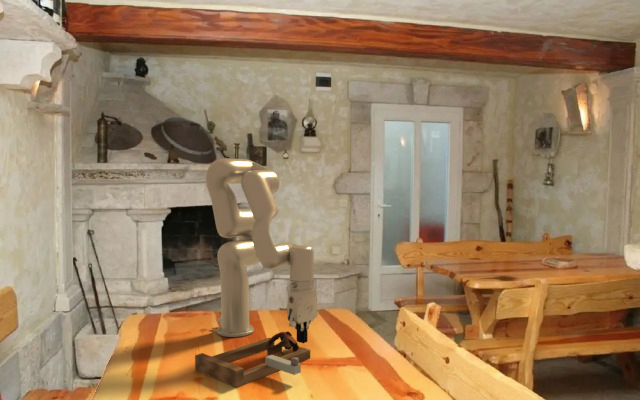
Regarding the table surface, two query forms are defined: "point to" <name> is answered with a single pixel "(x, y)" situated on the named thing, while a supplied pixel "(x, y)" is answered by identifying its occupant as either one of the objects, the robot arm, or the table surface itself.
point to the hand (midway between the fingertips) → (302, 341)
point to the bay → (234, 374)
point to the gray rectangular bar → (284, 364)
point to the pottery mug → (281, 343)
